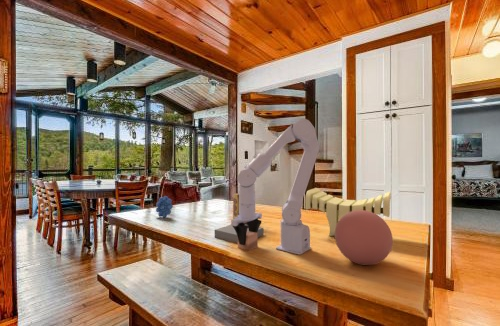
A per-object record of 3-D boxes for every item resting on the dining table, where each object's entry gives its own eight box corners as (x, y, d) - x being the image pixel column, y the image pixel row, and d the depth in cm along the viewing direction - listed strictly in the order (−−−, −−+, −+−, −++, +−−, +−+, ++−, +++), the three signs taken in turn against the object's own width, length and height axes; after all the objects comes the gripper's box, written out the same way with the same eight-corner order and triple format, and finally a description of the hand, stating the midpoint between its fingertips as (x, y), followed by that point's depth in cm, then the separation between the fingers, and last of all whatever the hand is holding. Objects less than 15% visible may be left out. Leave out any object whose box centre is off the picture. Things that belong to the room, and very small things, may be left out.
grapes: (178, 217, 140) (177, 195, 140) (169, 219, 134) (168, 196, 133) (162, 215, 145) (162, 194, 145) (153, 217, 139) (152, 195, 139)
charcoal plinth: (263, 235, 103) (263, 227, 103) (240, 244, 92) (240, 235, 92) (238, 229, 112) (237, 222, 112) (214, 237, 101) (214, 229, 101)
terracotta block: (257, 246, 89) (257, 232, 89) (248, 250, 86) (248, 235, 86) (246, 244, 93) (246, 230, 93) (237, 247, 89) (237, 233, 89)
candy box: (237, 227, 115) (237, 194, 115) (232, 226, 119) (232, 193, 119) (253, 225, 120) (253, 192, 120) (248, 223, 124) (248, 192, 124)
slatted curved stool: (305, 234, 103) (305, 191, 103) (316, 226, 117) (316, 187, 117) (389, 246, 88) (389, 195, 88) (390, 235, 102) (390, 190, 102)
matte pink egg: (386, 252, 83) (385, 205, 83) (397, 278, 64) (397, 217, 64) (336, 246, 88) (336, 202, 88) (333, 269, 70) (333, 214, 70)
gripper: (251, 200, 97) (251, 235, 97) (224, 205, 86) (224, 245, 86) (266, 202, 93) (266, 239, 93) (240, 207, 81) (240, 249, 81)
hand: (247, 242), depth 89 cm, fingers closed on terracotta block, 5 cm apart
